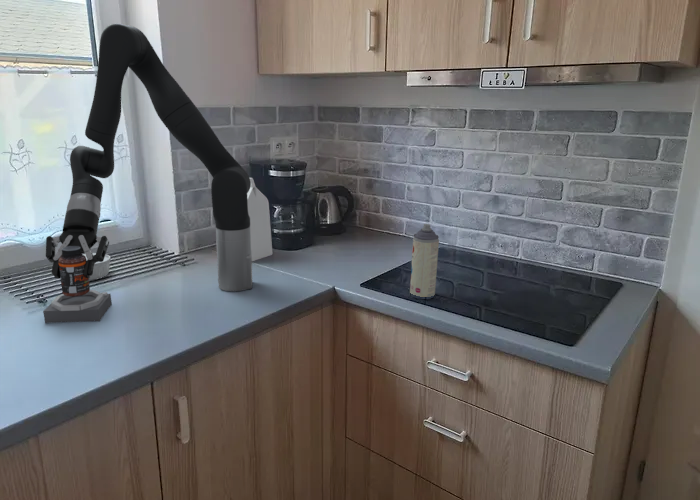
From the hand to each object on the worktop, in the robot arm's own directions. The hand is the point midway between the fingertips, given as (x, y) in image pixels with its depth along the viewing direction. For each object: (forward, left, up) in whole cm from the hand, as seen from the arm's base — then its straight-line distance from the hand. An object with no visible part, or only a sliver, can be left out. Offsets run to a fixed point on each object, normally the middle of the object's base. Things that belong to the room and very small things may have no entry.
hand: (71, 276), depth 124 cm
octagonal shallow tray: (0, -2, -10) cm, 10 cm away
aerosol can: (-87, -7, -10) cm, 88 cm away
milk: (-38, -47, -10) cm, 61 cm away
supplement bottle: (0, -2, -5) cm, 5 cm away
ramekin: (+6, -30, -10) cm, 32 cm away
